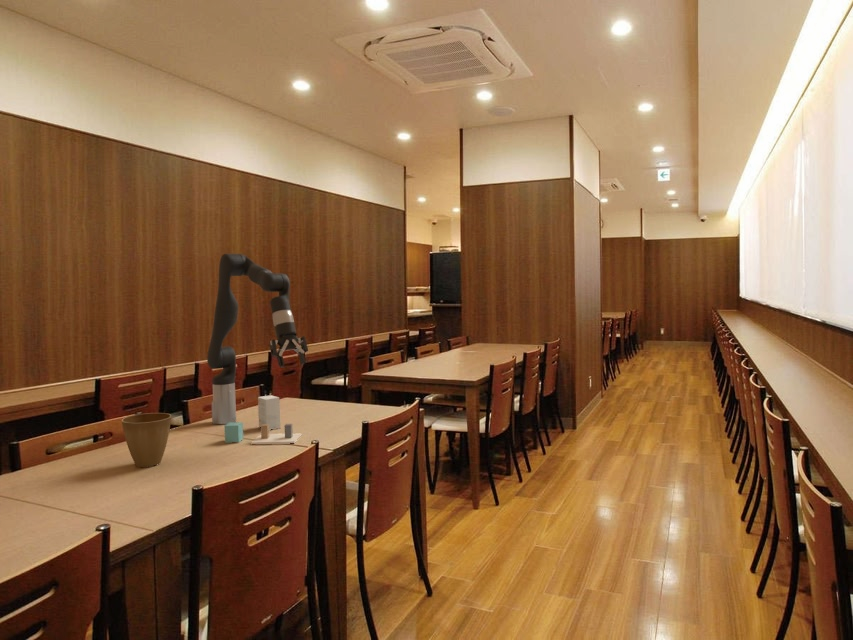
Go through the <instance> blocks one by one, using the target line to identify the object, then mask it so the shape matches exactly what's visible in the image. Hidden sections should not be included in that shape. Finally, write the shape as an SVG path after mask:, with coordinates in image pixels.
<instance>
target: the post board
mask: <svg viewBox="0 0 853 640" xmlns="http://www.w3.org/2000/svg"><path fill="white" fill-rule="evenodd" d="M301 435H302V432H299V433H294V432H293V423H285V424H284V433H270V430H269V424H263V425H261V428H260V434H259V435H258V436H257V437H256V438H254V440H252V441H251V445H252V444H272V445H291V444H290V443H295V442H296V441H298V440H299V439H300V438H301V437H302V436H301ZM300 436H301V437H300ZM299 437H300V438H299ZM298 438H299V439H298ZM297 439H298V440H297ZM296 443H297V442H296ZM296 443H295V444H296Z"/></svg>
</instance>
